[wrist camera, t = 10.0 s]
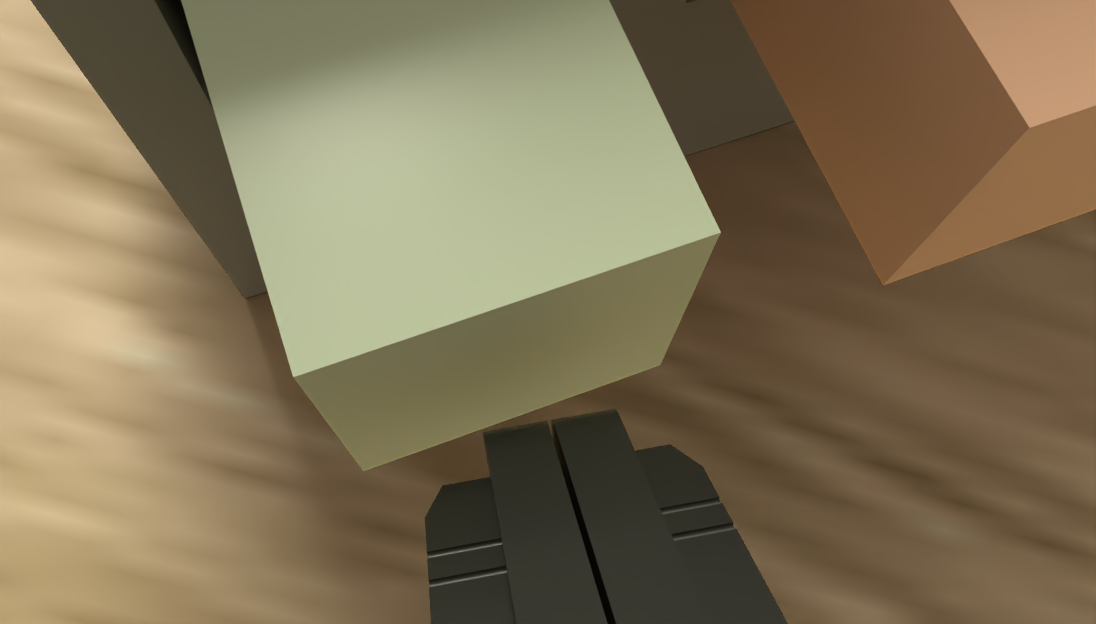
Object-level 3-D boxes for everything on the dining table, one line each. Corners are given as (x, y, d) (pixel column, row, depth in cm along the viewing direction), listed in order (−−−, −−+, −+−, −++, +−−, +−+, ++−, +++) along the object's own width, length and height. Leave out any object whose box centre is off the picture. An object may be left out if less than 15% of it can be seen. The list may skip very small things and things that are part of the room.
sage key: (364, 471, 13) (293, 377, 9) (220, 13, 16) (115, -222, 12) (659, 365, 14) (720, 232, 10) (476, -57, 16) (462, -304, 12)
